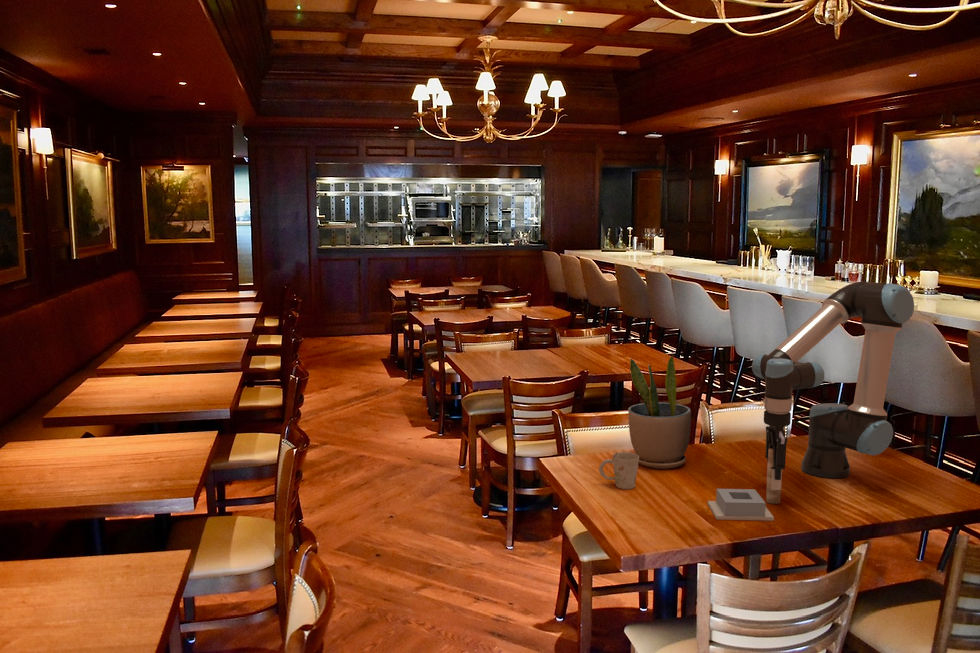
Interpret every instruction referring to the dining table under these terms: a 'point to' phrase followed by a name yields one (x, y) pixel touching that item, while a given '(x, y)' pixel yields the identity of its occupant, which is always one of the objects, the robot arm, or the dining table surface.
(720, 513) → the socket
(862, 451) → the robot arm
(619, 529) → the dining table surface
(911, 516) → the dining table surface
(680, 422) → the potted plant
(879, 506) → the dining table surface
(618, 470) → the mug
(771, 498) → the peg
